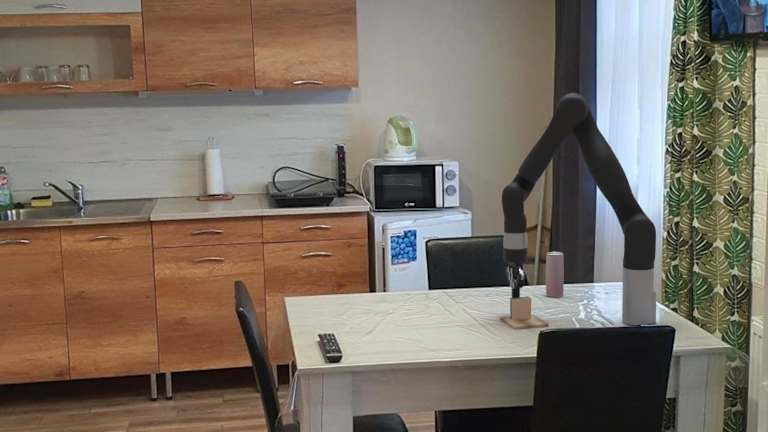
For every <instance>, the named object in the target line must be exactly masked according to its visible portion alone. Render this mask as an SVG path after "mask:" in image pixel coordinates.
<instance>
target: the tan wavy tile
mask: <svg viewBox="0 0 768 432" xmlns="http://www.w3.org/2000/svg"><path fill="white" fill-rule="evenodd" d="M500 321H502V322H503V323H504V324H506V325H508V326H509V327H510V328H512V329H513V330H524V329H525V330H526V329H535V328H545V327H546V328H547V327H549V326H550V325H549V323H548V322H546V321H545V320H543V319H541V318H539V316H536V315H535V314H531V319H522V320H512V319H510V316H503V317H500Z"/></svg>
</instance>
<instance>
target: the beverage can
mask: <svg viewBox="0 0 768 432" xmlns="http://www.w3.org/2000/svg"><path fill="white" fill-rule="evenodd" d="M564 258H565V257H564V253H563V252H562V251H561V252H560V251H549V252H546V256H545V294H546V296H547V297H548V296H549V298H562V297H563V296H564V272H565V271H564V260H565V259H564Z"/></svg>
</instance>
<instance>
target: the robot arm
mask: <svg viewBox="0 0 768 432" xmlns="http://www.w3.org/2000/svg"><path fill="white" fill-rule="evenodd" d="M591 111H592V110H591V109H590V105H589V104H588V101H587V99H586V98H585V97H584V96H583V95H582V94H579V93H576V92H570V93H567V94H564V95H563V96H562V97H561V98H560V99H559V100H558V102H557V104H556V108H555V111H554V113H553V115H552V118H551V119H550V122H549V123H548V126H547V127H546V128H545V130H544V132H543V133H542V135H541V136H540V138H539V139H538V140H537V142H536V143H535V144H534V146H533V147H532V148H531V150H530V151H528V154H527V155H526V156H525V158H524V159H523V161H522V163H521V164H520V166H519V168H518V172H517V174H516V175H515V177H514V178H513V179H512V181H511V182H510V183H509V184H507V185H506V186H505V187H504V188H503V190H502V194H501V206H502V212H503V218H504V220H503V251H502V252H503V261H504V262H506V263H507V267H505V268H504V272H505V275H506V279H507V283H508V285H509V287H510V288H511V298H515V297H521V294H520V293H521V292H520V290H521V289H522V288H524V286H525V282H526V280H527V274H526V273H524V271H525V270H524V263H525V262H527V261H528V259H529V258H528V254H529V253H528V249H529V248H528V247H529V246H528V231H527V230H528V229H527V228H528V227H527V223H528V222H527V216H526V214H525V202H526V201H527V199H528V198H529V196H530V195H531V193H532V192H533V189H534V188H535V186H536V184H537V182H538V181H539V180H540V178H541V177H542V175H543V174H544V173H545V171H546V169H547V168H548V166H549V165H550V163H551V162H552V160H553V159H554V156H555V155H556V154H557V151H558V150H559V148H560V146H561V145H562V144H563V142H564V141H565V139H566V138H567V137H568V136H569V134H570V133H572V134H573V136H574V138H575V139H576V142H577V144H578V146H579V149H580V152H581V155H582V159H583V160H584V163H585V166H586V168H587V170H588V172H589V174H590V176H591V178H592V180H593V182H594V183H595V184H596V186H597V188H598V190H599V191H600V192H601V194H602V195H603V196H604V198H605V199H606V201H607V202H608V203H609V205H610V206H611V208H612V209H613V211H614V213H615V215H616V218H617V221H618V223H619V225H620V227H621V231H622V234H623V236H624V239H623V240H624V242H623V243H624V244H623V258H622V301H621V302H622V305H621V307H622V308H621V312H622V313H621V318H622V320H621V321H622V323H623V324H625V325H630V326H637V325H643V326H648V325H647V324H650V325H652V324H656V323H657V292H656V291H655V289H654V288H655V287H654V286H655V260H656V253H657V251H656V250H657V248H656V247H657V229H656V226H655V224H654V222H653V221H652V220H651V219H650V217H649V216H648V215H647V214H646V213H645V211H644V210H643V209H642V207H641V205H640V204H639V203H638V201H637V199H636V197H635V196H634V193H633V190H632V187H631V185H630V182H629V180H628V177H627V174H626V172H625V170H624V169H623V166H622V164H621V163H620V161H619V158H618V157H617V156H616V154H615V152H614V151H613V149H612V147H611V146H610V144H609V142H607V140H606V138H605V137H604V135H603V134H602V132H601V131H600V129H599V126H598V125H597V124H596V120H595V119H594V116H593V114H592V112H591Z"/></svg>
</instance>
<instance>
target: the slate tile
mask: <svg viewBox="0 0 768 432" xmlns="http://www.w3.org/2000/svg"><path fill="white" fill-rule="evenodd" d="M509 307H510V309H509V312H510V313H509V314H510V315H509V317H510V319H512V320H522V319H531V315H532V298H531V297H530V296H527V295H526V296H520V297H515V298H512V297H509Z"/></svg>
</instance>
